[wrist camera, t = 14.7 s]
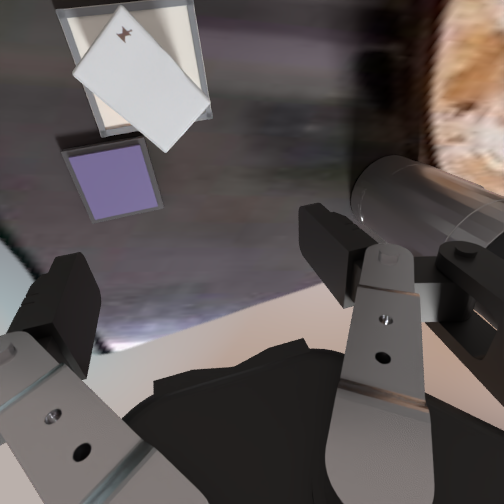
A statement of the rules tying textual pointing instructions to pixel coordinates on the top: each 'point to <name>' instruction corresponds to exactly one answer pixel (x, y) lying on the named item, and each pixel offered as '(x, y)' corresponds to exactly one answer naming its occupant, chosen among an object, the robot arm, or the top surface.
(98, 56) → the skincare box
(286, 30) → the top surface
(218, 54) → the top surface
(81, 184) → the ink pad
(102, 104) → the framed whiteboard
